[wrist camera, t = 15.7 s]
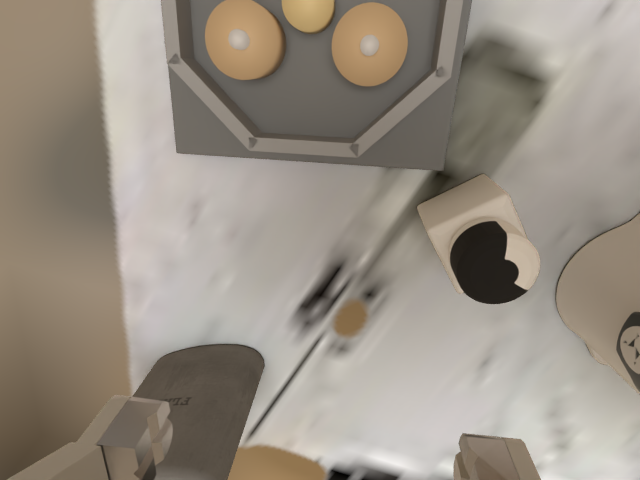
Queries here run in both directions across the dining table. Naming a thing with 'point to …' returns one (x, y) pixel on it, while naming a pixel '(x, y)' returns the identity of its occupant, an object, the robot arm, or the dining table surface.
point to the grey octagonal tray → (316, 78)
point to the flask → (204, 407)
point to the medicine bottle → (481, 241)
